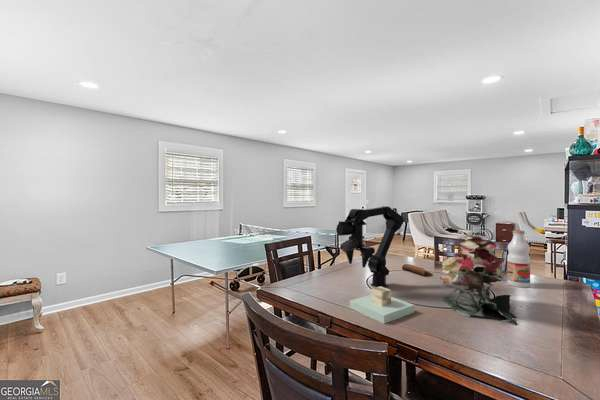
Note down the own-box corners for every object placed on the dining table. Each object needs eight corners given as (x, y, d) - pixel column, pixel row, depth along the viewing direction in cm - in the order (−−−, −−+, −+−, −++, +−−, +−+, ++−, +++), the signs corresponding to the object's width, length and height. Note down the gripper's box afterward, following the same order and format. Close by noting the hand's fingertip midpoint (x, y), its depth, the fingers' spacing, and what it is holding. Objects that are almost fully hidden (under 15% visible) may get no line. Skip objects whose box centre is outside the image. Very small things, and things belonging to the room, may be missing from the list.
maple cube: (380, 299, 121) (380, 286, 120) (391, 303, 116) (390, 289, 116) (371, 302, 118) (371, 288, 117) (381, 306, 113) (381, 292, 113)
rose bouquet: (499, 298, 128) (499, 232, 128) (526, 327, 101) (527, 242, 100) (436, 292, 137) (436, 230, 136) (446, 317, 109) (445, 239, 109)
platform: (379, 298, 129) (379, 292, 129) (414, 312, 114) (414, 304, 114) (349, 307, 119) (349, 300, 119) (383, 323, 104) (383, 315, 104)
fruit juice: (514, 281, 153) (514, 229, 153) (534, 286, 145) (534, 231, 144) (503, 283, 150) (503, 230, 149) (522, 289, 141) (523, 232, 140)
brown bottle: (435, 274, 167) (430, 265, 165) (427, 282, 164) (423, 273, 163) (411, 268, 183) (407, 259, 182) (404, 274, 181) (400, 266, 179)
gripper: (332, 233, 145) (332, 264, 145) (358, 237, 130) (358, 272, 130) (348, 231, 151) (348, 261, 152) (375, 235, 136) (375, 268, 136)
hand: (356, 265), depth 142 cm, fingers open, 9 cm apart
